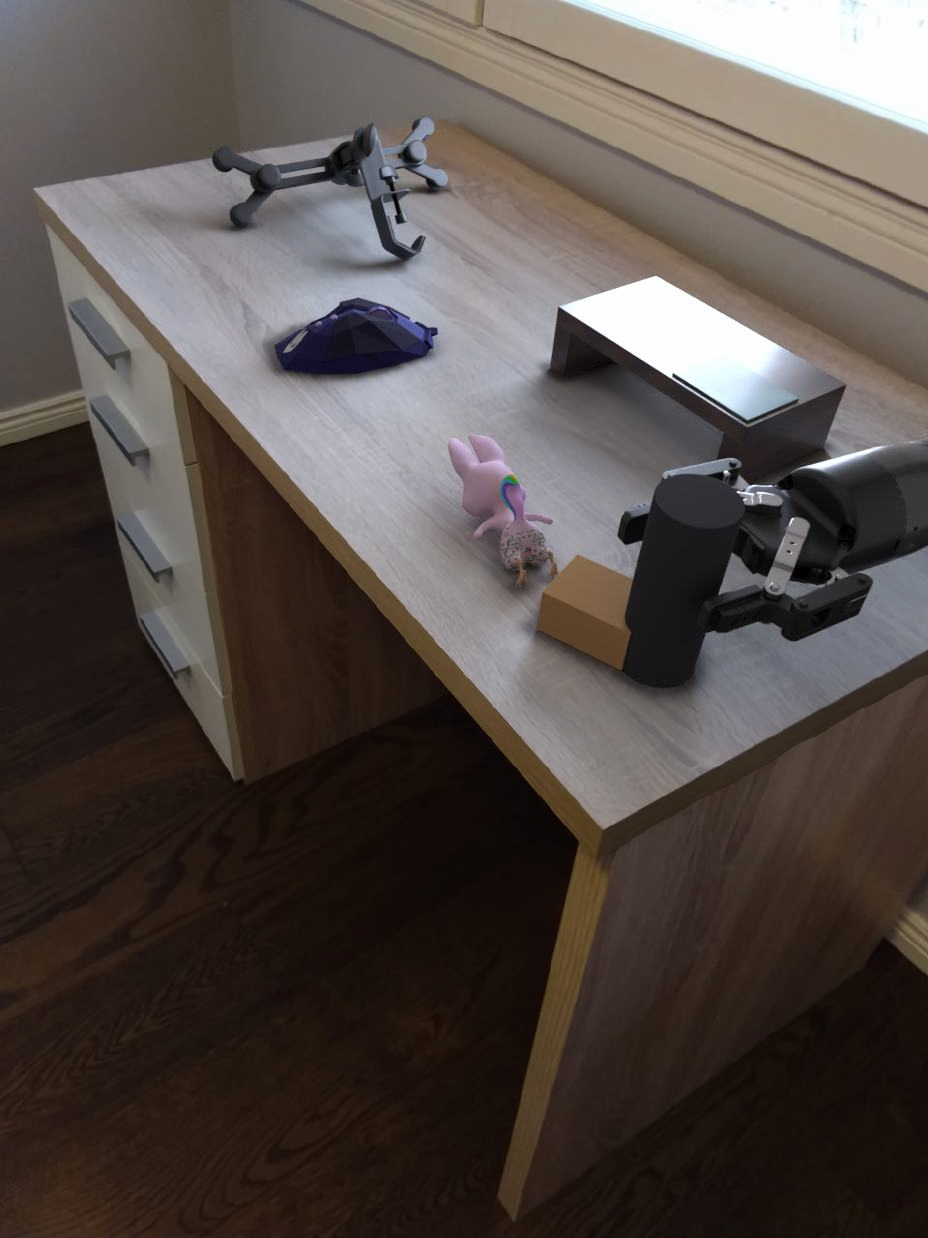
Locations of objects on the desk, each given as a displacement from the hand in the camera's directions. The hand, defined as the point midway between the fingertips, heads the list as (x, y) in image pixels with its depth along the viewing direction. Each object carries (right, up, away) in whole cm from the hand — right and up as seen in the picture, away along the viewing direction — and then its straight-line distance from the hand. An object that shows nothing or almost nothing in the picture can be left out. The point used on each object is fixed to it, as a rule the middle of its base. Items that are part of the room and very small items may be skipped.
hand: (660, 571), depth 61 cm
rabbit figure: (-9, +4, +15) cm, 18 cm away
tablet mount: (-22, +40, +51) cm, 69 cm away
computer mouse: (-22, +22, +33) cm, 45 cm away
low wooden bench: (+7, +16, +29) cm, 34 cm away
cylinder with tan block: (-1, -4, +7) cm, 8 cm away
